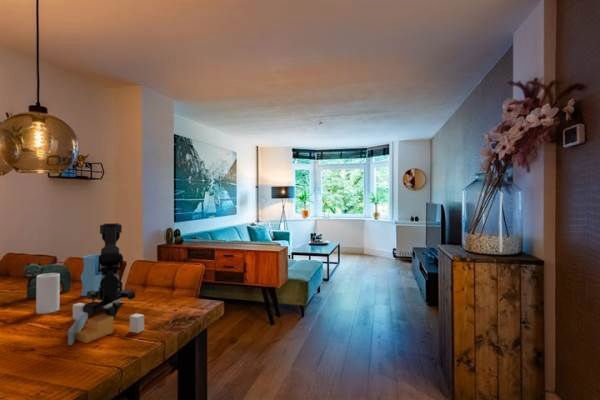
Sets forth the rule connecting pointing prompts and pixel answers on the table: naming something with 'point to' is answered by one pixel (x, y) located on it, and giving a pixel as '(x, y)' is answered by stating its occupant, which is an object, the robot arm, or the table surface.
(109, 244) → the robot arm
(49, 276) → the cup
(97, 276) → the vase
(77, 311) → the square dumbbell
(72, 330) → the grey end-capped bar
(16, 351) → the table surface
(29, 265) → the ceramic cat
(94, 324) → the wedge
